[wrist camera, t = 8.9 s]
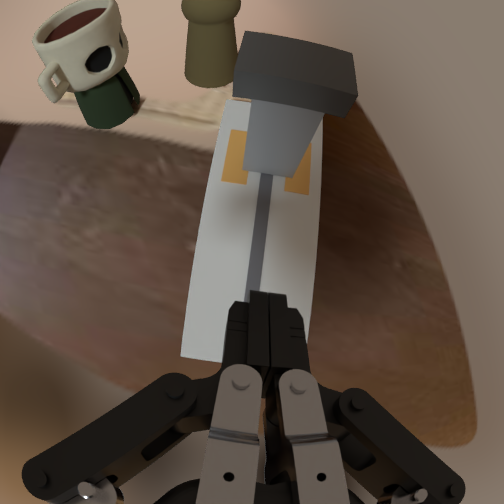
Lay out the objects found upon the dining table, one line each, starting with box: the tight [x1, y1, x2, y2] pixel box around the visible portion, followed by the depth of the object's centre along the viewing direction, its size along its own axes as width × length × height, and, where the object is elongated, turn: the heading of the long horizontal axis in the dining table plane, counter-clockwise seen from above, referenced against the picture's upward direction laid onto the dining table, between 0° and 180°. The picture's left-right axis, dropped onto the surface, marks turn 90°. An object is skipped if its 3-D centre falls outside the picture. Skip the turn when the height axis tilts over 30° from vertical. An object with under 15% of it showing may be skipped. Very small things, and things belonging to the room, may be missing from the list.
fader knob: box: [232, 31, 358, 178], centre depth 17 cm, size 4×6×11 cm, turn 83°
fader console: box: [181, 100, 323, 363], centre depth 23 cm, size 22×9×2 cm, turn 173°
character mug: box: [32, 0, 140, 129], centre depth 19 cm, size 11×7×13 cm, turn 165°
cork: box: [181, 0, 241, 88], centre depth 22 cm, size 6×6×11 cm
